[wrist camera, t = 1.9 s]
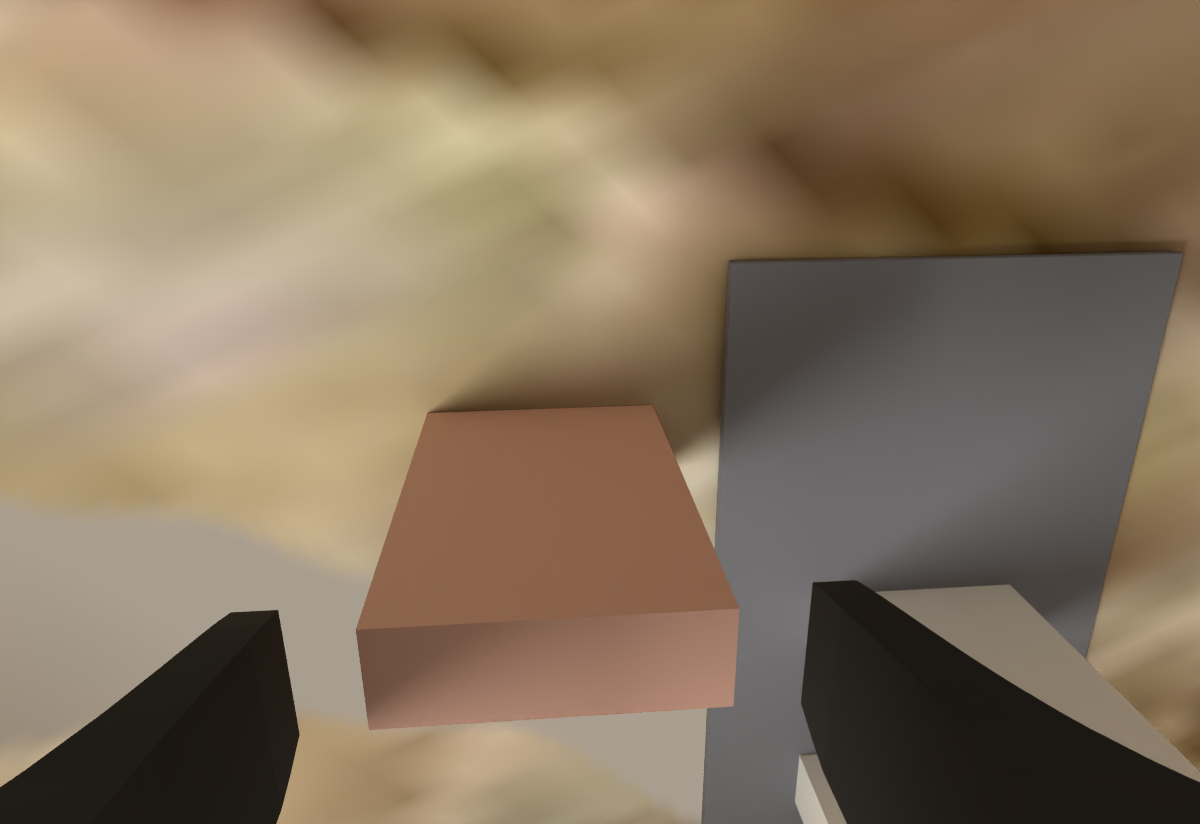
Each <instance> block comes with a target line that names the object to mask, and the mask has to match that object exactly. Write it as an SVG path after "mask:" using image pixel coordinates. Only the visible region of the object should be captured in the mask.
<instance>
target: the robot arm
mask: <svg viewBox="0 0 1200 824" xmlns="http://www.w3.org/2000/svg"><path fill="white" fill-rule="evenodd" d="M801 705H802V709H803V712H804V715H805V718H806V722H807V725H808V728H809V731H810V735H811V738H812V741H813V744H814V747H815V750H816V753H817V756H818V759H819V762H820V765H821V768H822V771H823V773H824V775H825V777H826V780H827V782H828V784H829V786H830V788H831V791H832V793H833V795H834V797H835V799H836V801H837V804H838V806H839V808H840V810H841V812H842V814H843V817H844V819H845V821H846V823H847V824H1200V782H1198V781H1196V780H1194V779H1192V778H1189V777H1187V776H1185V775H1183V774H1181V773H1178V772H1176V771H1174V770H1172V769H1170V768H1168V767H1166V766H1164V765H1161V764H1159V763H1157V762H1155V761H1153V760H1151V759H1149V758H1147V757H1145V756H1143V755H1141V754H1139V753H1137V752H1135V751H1133V750H1131V749H1129V748H1127V747H1125V746H1123V745H1122V744H1120V743H1118V742H1116V741H1114V740H1112V739H1110V738H1108V737H1106V736H1104V735H1102V734H1100V733H1098V732H1096V731H1094V730H1092V729H1090V728H1088V727H1087V726H1085V725H1083V724H1081V723H1079V722H1078V721H1076V720H1074V719H1072V718H1070V717H1069V716H1067V715H1065V714H1063V713H1061V712H1060V711H1058V710H1056V709H1055V708H1053V707H1051V706H1050V705H1048V704H1046V703H1044V702H1043V701H1041V700H1039V699H1038V698H1036V697H1034V696H1033V695H1031V694H1029V693H1028V692H1026V691H1024V690H1023V689H1021V688H1019V687H1018V686H1016V685H1014V684H1013V683H1011V682H1009V681H1008V680H1006V679H1005V678H1003V677H1001V676H1000V675H998V674H997V673H995V672H994V671H992V670H990V669H989V668H987V667H986V666H984V665H983V664H981V663H980V662H978V661H976V660H975V659H973V658H972V657H970V656H969V655H967V654H966V653H964V652H963V651H961V650H960V649H958V648H957V647H955V646H954V645H952V644H951V643H949V642H948V641H946V640H945V639H943V638H942V637H940V636H939V635H938V634H936V633H935V632H933V631H932V630H930V629H929V628H927V627H926V626H924V625H923V624H921V623H920V622H919V621H917V620H916V619H914V618H913V617H911V616H910V615H908V614H907V613H906V612H904V611H903V610H901V609H900V608H898V607H897V606H895V605H894V604H892V603H891V602H889V601H888V600H886V599H885V598H884V597H882V596H881V595H879V594H878V593H876V592H874V591H873V590H871V589H870V588H868V587H867V586H865V585H863V584H862V583H860V582H858V581H856V580H848V581H829V582H813V584H812V594H811V605H810V615H809V625H808V635H807V645H806V655H805V665H804V675H803V685H802V695H801ZM298 739H299V729H298V723H297V717H296V712H295V706H294V700H293V694H292V688H291V683H290V677H289V671H288V665H287V659H286V654H285V648H284V642H283V636H282V631H281V624H280V619H279V613H278V610H271V611H251V612H234V613H233V612H232V613H229V614H228V615H227V616H225V617H224V618H222V619H221V620H219V621H218V622H217V623H216V624H214V625H213V626H212V627H210V628H209V629H208V630H206V631H205V632H204V633H203V634H201V635H200V636H199V637H198V638H196V639H195V640H194V641H193V642H192V643H190V644H189V645H188V646H187V647H185V648H184V649H183V650H182V651H180V652H179V653H178V654H177V655H175V656H174V657H173V658H172V659H170V660H169V661H168V662H167V663H166V664H164V665H163V666H162V667H161V668H159V669H158V670H157V671H156V672H154V673H153V674H152V675H151V676H149V677H148V678H147V679H145V680H144V681H143V682H142V683H140V684H139V685H138V686H137V687H135V688H134V689H133V690H132V691H130V692H129V693H128V694H127V695H125V696H124V697H123V698H122V699H120V700H119V701H118V702H117V703H115V704H114V705H113V706H111V707H110V708H109V709H108V710H106V711H105V712H104V713H102V714H101V715H100V716H98V717H97V718H96V719H94V720H93V721H92V722H90V723H89V724H88V725H86V726H85V727H83V728H82V729H81V730H79V731H78V732H77V733H75V734H74V735H73V736H71V737H70V738H68V739H67V740H66V741H64V742H63V743H62V744H60V745H59V746H58V747H56V748H55V749H53V750H52V751H51V752H49V753H48V754H47V755H45V756H44V757H43V758H41V759H40V760H38V761H37V762H36V763H34V764H33V765H32V766H30V767H29V768H28V769H26V770H25V771H23V772H22V773H20V774H19V775H18V776H16V777H15V778H13V779H12V780H10V781H9V782H7V783H6V784H4V785H3V786H1V787H0V824H276V823H277V820H278V817H279V815H280V812H281V809H282V805H283V801H284V797H285V793H286V789H287V786H288V782H289V778H290V774H291V769H292V765H293V761H294V756H295V752H296V747H297V743H298Z"/></svg>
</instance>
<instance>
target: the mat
mask: <svg viewBox="0 0 1200 824" xmlns="http://www.w3.org/2000/svg"><path fill="white" fill-rule="evenodd" d="M1182 258H1183V253H1178V252H1174V251H1170V252H1125V253H1079V254H1034V255H988V256H943V257H897V258H852V259H806V260H761V261H729V263H728V283H727V304H726V325H725V346H724V367H723V388H722V408H721V429H720V450H719V471H718V492H717V513H716V533H715V552H716V555H717V557H718V559H719V562H720V564H721V566H722V569H723V571H724V573H725V576H726V578H727V580H728V583H729V585H730V588H731V590H732V592H733V595H734V597H735V599H736V602H737V604H738V606H739V625H738V641H737V658H736V674H735V690H734V706H732V707H716V708H707V721H706V743H705V762H704V784H703V804H702V824H803V821H802V819H801V816H800V813H799V811H798V808H797V806H796V803H795V795H796V785H797V775H798V764H799V755H812V754H817V753H816V750H815V747H814V744H813V741H812V738H811V735H810V731H809V728H808V725H807V722H806V718H805V715H804V712H803V709H802V705H801V695H802V685H803V675H804V665H805V655H806V645H807V635H808V625H809V615H810V605H811V594H812V584H813V582H829V581H848V580H856V581H858V582H860V583H862V584H863V585H865V586H867V587H868V588H870V589H871V590H873V591H874V592H880V591H898V590H917V589H935V588H954V587H972V586H991V585H1009V584H1010V585H1011V586H1012V587H1013V588H1014V589H1015V590H1016V591H1017V592H1018V593H1019V594H1020V595H1021V596H1022V597H1023V598H1024V599H1025V600H1026V601H1027V602H1028V603H1029V604H1030V605H1031V606H1032V607H1033V608H1034V609H1035V610H1036V611H1037V612H1038V613H1039V614H1040V615H1041V616H1042V617H1043V618H1044V619H1045V620H1046V621H1047V622H1048V623H1049V624H1050V625H1051V626H1052V627H1053V628H1054V629H1055V630H1056V631H1057V632H1058V633H1059V634H1060V635H1061V636H1063V637H1064V638H1065V639H1066V640H1067V641H1068V642H1069V643H1070V644H1071V645H1072V646H1073V647H1074V648H1075V649H1076V650H1077V651H1078V652H1079V653H1080V654H1081V655H1082V656H1083V657H1084V658H1086V654H1087V650H1088V646H1089V642H1090V638H1091V634H1092V629H1093V625H1094V621H1095V617H1096V613H1097V609H1098V605H1099V601H1100V596H1101V592H1102V588H1103V584H1104V580H1105V576H1106V572H1107V567H1108V563H1109V559H1110V555H1111V551H1112V547H1113V543H1114V539H1115V534H1116V530H1117V526H1118V522H1119V518H1120V514H1121V510H1122V505H1123V501H1124V497H1125V493H1126V489H1127V485H1128V481H1129V477H1130V472H1131V468H1132V464H1133V460H1134V456H1135V452H1136V448H1137V443H1138V439H1139V435H1140V431H1141V427H1142V423H1143V419H1144V415H1145V410H1146V406H1147V402H1148V398H1149V394H1150V390H1151V386H1152V382H1153V377H1154V373H1155V369H1156V365H1157V361H1158V357H1159V353H1160V348H1161V344H1162V340H1163V336H1164V332H1165V328H1166V324H1167V320H1168V315H1169V311H1170V307H1171V303H1172V299H1173V295H1174V291H1175V286H1176V282H1177V278H1178V274H1179V270H1180V266H1181V262H1182Z"/></svg>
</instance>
